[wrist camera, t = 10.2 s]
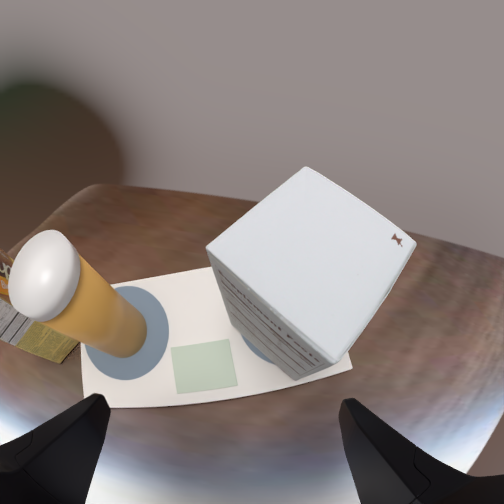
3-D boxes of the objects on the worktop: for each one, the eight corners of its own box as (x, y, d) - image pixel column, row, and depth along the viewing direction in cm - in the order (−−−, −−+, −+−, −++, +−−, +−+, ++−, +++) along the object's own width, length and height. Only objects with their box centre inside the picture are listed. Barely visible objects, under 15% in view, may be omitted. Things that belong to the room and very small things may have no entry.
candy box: (30, 310, 24) (-58, 243, 10) (50, 286, 25) (-35, 209, 12) (61, 365, 21) (-55, 313, 8) (83, 339, 22) (-30, 270, 9)
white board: (353, 368, 21) (358, 366, 20) (91, 407, 19) (84, 406, 18) (316, 252, 27) (319, 245, 26) (88, 294, 25) (81, 288, 24)
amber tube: (150, 356, 21) (63, 309, 10) (100, 360, 20) (2, 317, 10) (146, 300, 23) (76, 221, 13) (99, 308, 23) (18, 240, 12)
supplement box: (286, 267, 25) (307, 160, 14) (349, 320, 22) (423, 242, 11) (227, 324, 22) (199, 243, 11) (293, 385, 20) (339, 368, 9)
